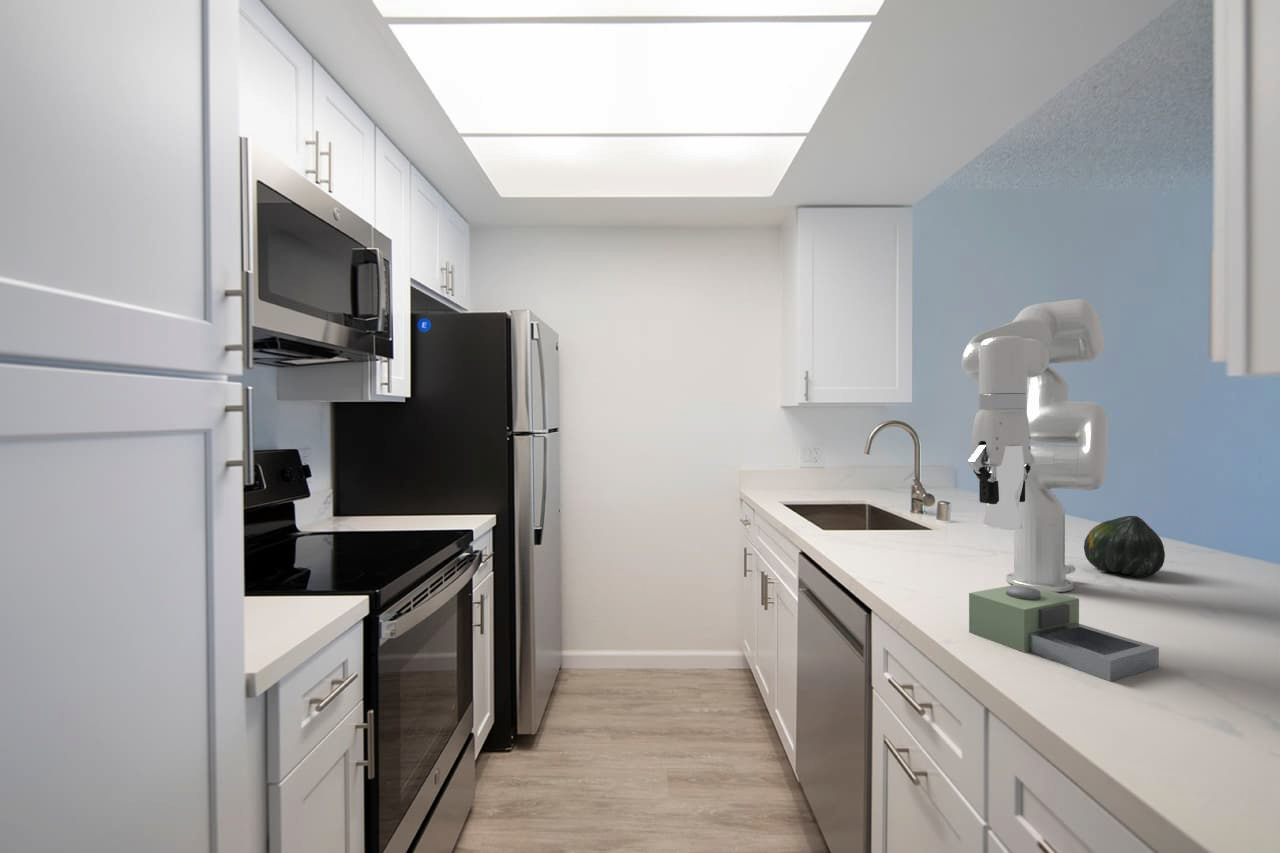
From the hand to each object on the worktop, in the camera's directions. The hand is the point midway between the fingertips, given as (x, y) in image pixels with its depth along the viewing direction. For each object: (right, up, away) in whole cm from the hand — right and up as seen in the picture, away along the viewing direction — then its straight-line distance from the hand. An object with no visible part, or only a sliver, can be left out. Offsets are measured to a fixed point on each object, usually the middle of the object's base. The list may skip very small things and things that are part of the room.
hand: (1002, 501), depth 109 cm
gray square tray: (+5, -23, -15) cm, 28 cm away
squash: (+50, -22, +34) cm, 65 cm away
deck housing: (+1, -23, -5) cm, 23 cm away
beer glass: (0, -5, 0) cm, 5 cm away
